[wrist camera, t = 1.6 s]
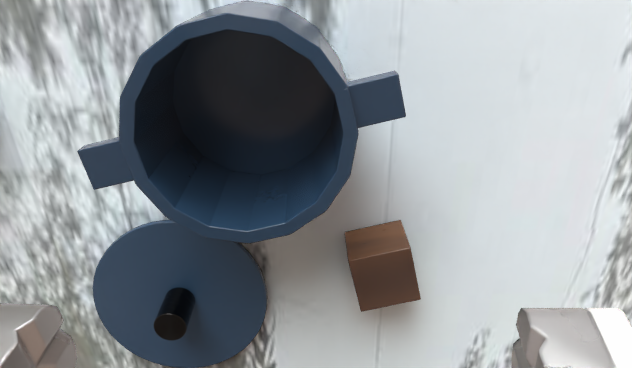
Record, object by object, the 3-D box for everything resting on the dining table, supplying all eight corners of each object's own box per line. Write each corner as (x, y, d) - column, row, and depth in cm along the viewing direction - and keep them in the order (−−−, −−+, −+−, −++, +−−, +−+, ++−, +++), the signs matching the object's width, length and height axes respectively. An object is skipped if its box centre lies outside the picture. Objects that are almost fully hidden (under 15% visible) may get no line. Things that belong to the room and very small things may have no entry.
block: (410, 267, 43) (420, 299, 39) (356, 279, 44) (361, 312, 39) (400, 219, 42) (410, 247, 37) (344, 231, 42) (348, 260, 38)
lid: (286, 341, 46) (284, 380, 42) (133, 372, 47) (116, 414, 43) (240, 198, 41) (232, 226, 36) (70, 237, 42) (43, 268, 38)
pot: (398, 150, 39) (423, 205, 31) (162, 204, 41) (122, 271, 32) (363, -31, 35) (381, -28, 26) (98, 37, 36) (31, 62, 27)
